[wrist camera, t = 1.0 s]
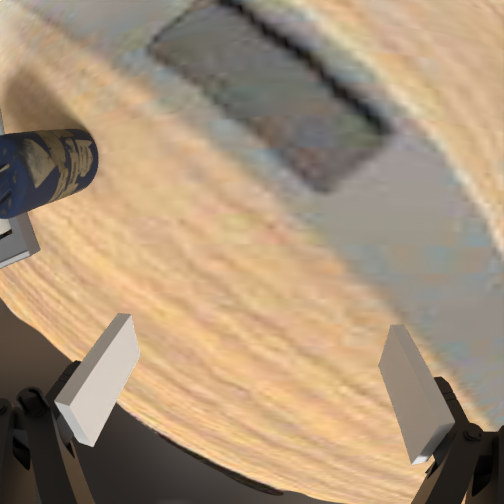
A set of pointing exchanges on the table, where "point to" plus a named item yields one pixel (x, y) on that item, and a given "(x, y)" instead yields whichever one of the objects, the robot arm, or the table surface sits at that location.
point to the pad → (1, 125)
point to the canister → (43, 168)
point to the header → (18, 241)
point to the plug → (4, 226)
